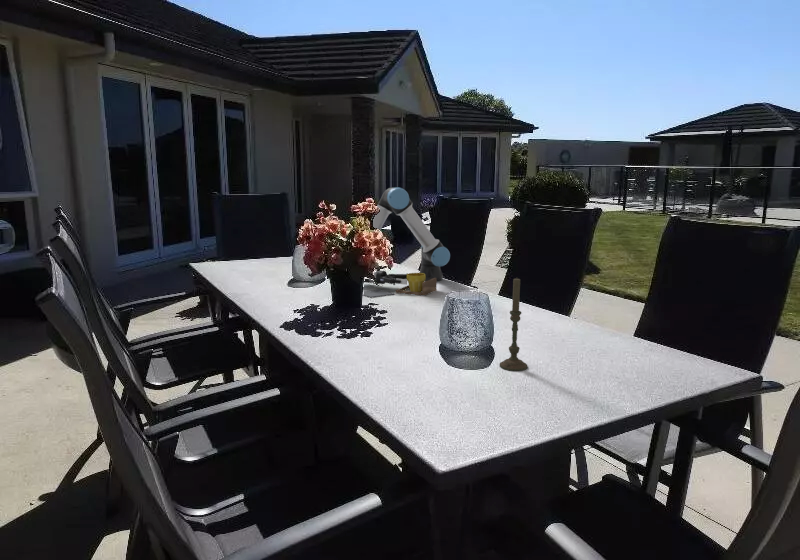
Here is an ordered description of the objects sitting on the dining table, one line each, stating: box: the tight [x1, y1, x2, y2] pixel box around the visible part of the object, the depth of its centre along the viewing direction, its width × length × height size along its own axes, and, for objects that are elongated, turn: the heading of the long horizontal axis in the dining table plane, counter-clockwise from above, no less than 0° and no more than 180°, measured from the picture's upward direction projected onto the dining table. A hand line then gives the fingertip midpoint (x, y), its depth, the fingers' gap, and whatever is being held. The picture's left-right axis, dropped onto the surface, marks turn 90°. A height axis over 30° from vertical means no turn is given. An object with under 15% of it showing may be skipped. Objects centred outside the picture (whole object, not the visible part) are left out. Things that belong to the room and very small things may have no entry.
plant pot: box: [407, 272, 426, 292], centre depth 305 cm, size 10×10×10 cm
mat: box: [363, 288, 395, 299], centre depth 300 cm, size 15×15×1 cm
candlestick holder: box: [499, 278, 529, 372], centre depth 180 cm, size 9×9×30 cm
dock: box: [395, 278, 437, 296], centre depth 305 cm, size 17×17×7 cm
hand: (412, 280), depth 305 cm, fingers open, 13 cm apart
